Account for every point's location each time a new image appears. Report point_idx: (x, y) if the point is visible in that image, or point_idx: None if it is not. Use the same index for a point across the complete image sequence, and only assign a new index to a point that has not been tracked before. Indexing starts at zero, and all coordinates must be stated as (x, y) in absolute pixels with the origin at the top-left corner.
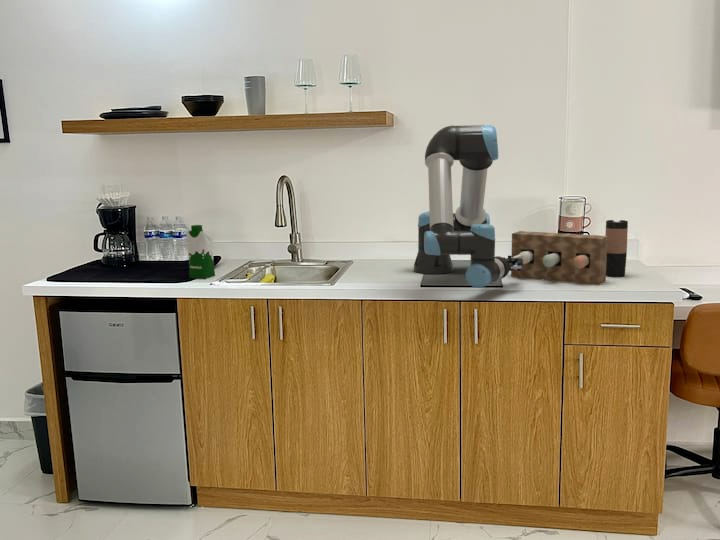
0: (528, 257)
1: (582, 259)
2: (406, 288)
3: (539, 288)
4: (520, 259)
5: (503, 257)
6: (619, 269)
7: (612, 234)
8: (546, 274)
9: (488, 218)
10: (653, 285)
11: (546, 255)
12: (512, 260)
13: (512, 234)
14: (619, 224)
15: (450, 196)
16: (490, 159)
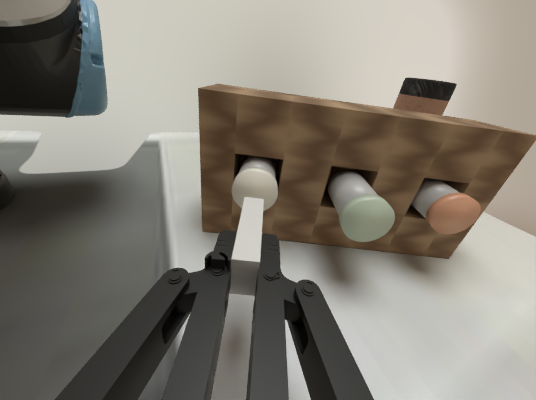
0: (272, 192)
1: (469, 209)
2: None
3: (377, 394)
4: (313, 305)
5: (171, 274)
6: None
7: (427, 113)
8: (311, 230)
9: (91, 14)
10: (510, 235)
11: (366, 202)
12: (276, 387)
13: (200, 92)
14: (451, 89)
15: None
16: None
